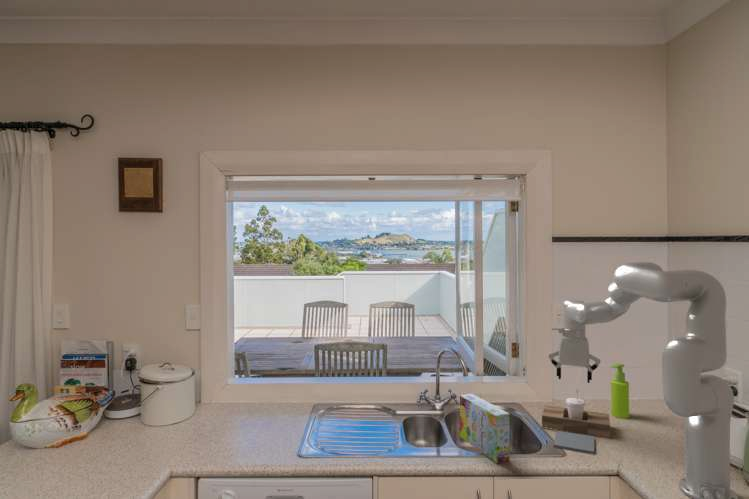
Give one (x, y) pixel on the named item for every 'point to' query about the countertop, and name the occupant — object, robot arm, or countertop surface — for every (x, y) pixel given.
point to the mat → (574, 442)
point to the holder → (576, 422)
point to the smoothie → (575, 407)
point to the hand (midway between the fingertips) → (573, 380)
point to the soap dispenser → (620, 393)
